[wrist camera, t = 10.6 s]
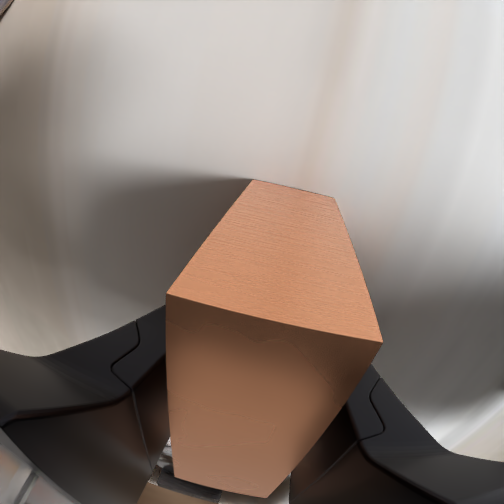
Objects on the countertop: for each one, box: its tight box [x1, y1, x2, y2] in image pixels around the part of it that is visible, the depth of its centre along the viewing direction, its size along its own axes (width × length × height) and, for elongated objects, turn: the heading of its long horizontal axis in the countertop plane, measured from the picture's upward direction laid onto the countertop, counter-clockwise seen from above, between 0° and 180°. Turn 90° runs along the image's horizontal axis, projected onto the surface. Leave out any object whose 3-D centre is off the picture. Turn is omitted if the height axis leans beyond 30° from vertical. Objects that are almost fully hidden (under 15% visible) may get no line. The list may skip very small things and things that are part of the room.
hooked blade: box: [157, 179, 383, 503], centre depth 11 cm, size 6×24×6 cm, turn 170°
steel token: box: [157, 446, 174, 473], centre depth 17 cm, size 4×4×1 cm
